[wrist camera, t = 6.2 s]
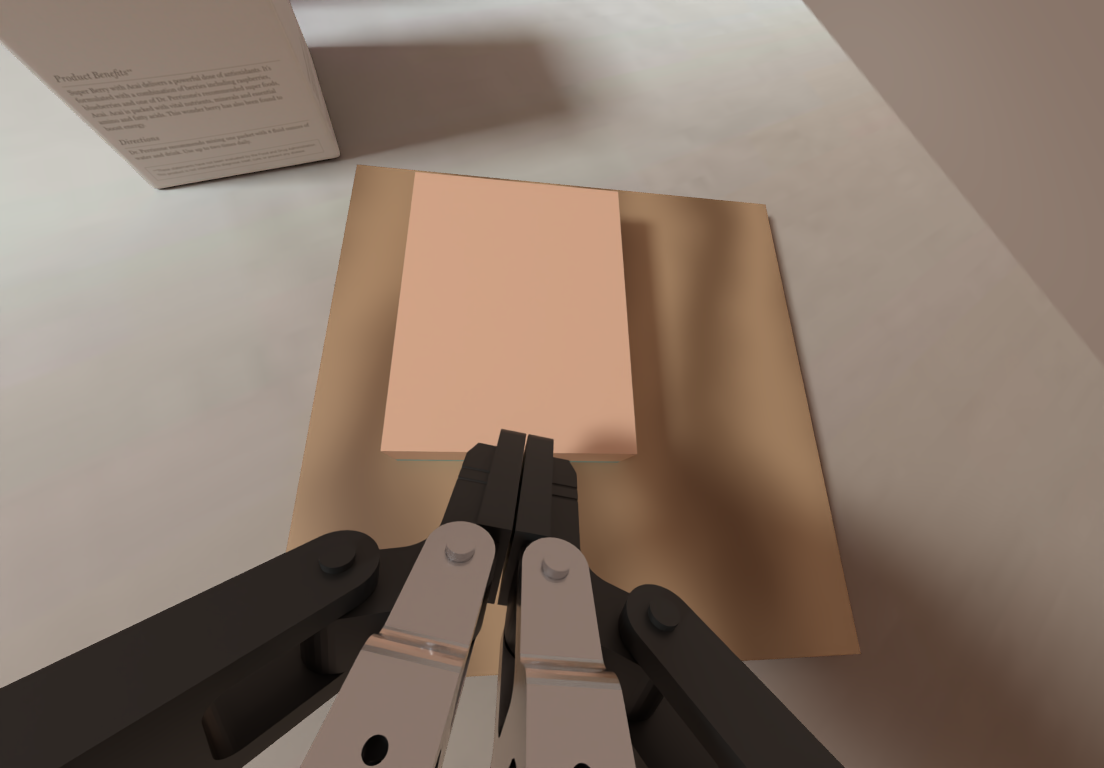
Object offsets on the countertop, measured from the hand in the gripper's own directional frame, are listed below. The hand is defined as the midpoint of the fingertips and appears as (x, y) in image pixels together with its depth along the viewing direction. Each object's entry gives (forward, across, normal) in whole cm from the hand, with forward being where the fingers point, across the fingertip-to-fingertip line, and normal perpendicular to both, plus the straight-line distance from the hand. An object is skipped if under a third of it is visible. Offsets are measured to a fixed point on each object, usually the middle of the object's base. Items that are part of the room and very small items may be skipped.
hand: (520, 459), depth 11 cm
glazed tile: (+3, 0, +2) cm, 4 cm away
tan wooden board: (+8, -2, +1) cm, 8 cm away
